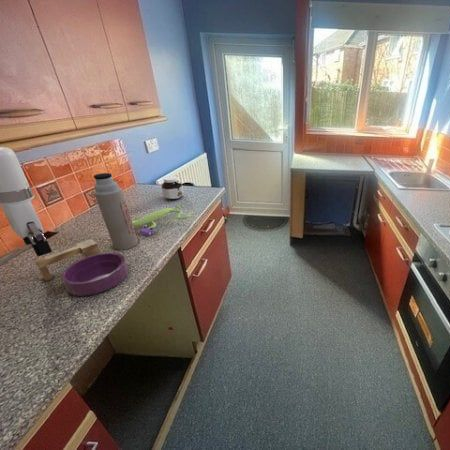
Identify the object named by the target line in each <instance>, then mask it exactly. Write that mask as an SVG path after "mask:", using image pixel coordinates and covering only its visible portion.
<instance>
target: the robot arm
mask: <svg viewBox="0 0 450 450" xmlns="http://www.w3.org/2000/svg"><path fill="white" fill-rule="evenodd" d="M34 199H35V194H34V192H33V190H32V188H31V186H30V184H29V182H28V179H27V177H26V175H25V173H24V170H23V168H22V166H21V164H20V161H19V160H18V157H17V155H16V153H15V151H14V150H13V149H11V148H10V147H6V146H0V207H1V209H2V211H3V213H4V215H5V218H6V219H7V222H8V223H9V226H10V228H11V230H12V231H13V232H14V233H15V234H16V235H17V236H18V237H19V238H20V239H22V240H23V242H24V244H25V245H26V246H29V245H31V247H32V249H33V251H34V253H35V255H36V256H37V257H41V256H45V255H48V254H51V253H52V252H53V250H52V248H51V246H50V244H49V242H48V240H47V239H46V237H45V236H44V234H43V233H44V232H45V230H44V227H43V225H42V222H41V219H40V217H39V215H38V213H37V211H36V209H35V207H34V205H33V203H32V200H34Z"/></svg>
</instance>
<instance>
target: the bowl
mask: <svg viewBox="0 0 450 450" xmlns="http://www.w3.org/2000/svg"><path fill="white" fill-rule="evenodd" d="M128 274H129V267H128V265H127V261H126V259H125V256H123V254H121V253H117V252H101V254H96V255H92V256H89V257H86V258H83V259H82V258H81V259H79V260H77V261H75V262H73V263H71V264H70V265H68V266H67V267H66V268H65V269H64V270H63V272H62V273H61V277H60V278H61V281H62V283H63V285H64V287H65V289H66V290H67V292H68V293H69V294H70V295H73V296H78V297H80V296H81V297H82V296H83V297H85V296H92V295H97V294H99V293H103V292H105V291H108V290H110V289H112V288H114V287H116V286H117V285H119V284H120V283H121V282H123V281H124V280H125V278H127V276H128Z"/></svg>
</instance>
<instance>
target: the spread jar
mask: <svg viewBox="0 0 450 450" xmlns="http://www.w3.org/2000/svg"><path fill="white" fill-rule="evenodd" d="M161 192H162V195H163V197H164V198H165V199H166V200H168V201H178V200H181V199H182V198H183V197H184V194H185V191H184V185H183V183H182V182H181V181H179V179H178V176H173V175H171V176H166V177H163V183H162V184H161Z"/></svg>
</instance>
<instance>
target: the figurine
mask: <svg viewBox="0 0 450 450" xmlns="http://www.w3.org/2000/svg"><path fill="white" fill-rule="evenodd" d="M170 213H178V214H176V219H177V220H187V219H189V218H190V217H191V216H193V215H196V212H195V211H191V212H189V213H188V214H187V216H182V215H183V214H184V212H183V211H182V210H181V205H178V204H177V205H176V206H175V208H170V207H165V208H163V209H159V210H156V211H152V212H151V213H148V214H146V215H144V216H142V217H140V218H139V219H138V217H137V216H134V218H133V219H131V221H132V224H133V227H134V228H136V227H142V228H141V230H140V234H141V235H145V236H151V235H154V234H155V229H154V228H156V227H157V224H156V222H155V221H158V222H161V220H160V219H161V218H163V217H165V216H166V215H168V214H170ZM151 224H152V225H151Z"/></svg>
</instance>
